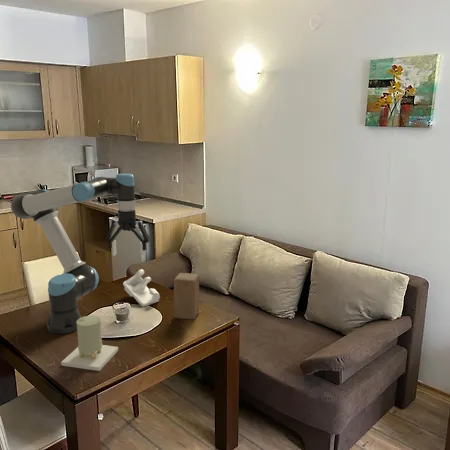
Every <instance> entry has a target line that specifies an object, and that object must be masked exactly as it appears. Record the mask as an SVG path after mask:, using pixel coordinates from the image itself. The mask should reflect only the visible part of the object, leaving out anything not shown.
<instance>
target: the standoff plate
mask: <svg viewBox="0 0 450 450" xmlns="http://www.w3.org/2000/svg"><path fill="white" fill-rule="evenodd" d="M118 351H119V346H113V345H105V344H102V348H101V349H100V350H98V351H96V352H93V353H83V352H80V351H79V350H78V346H77V347H76V348H75V349H74V350H73V351H72V352H71V353H69V354H68V355H67V356H66V357H65V358H64V359H63V360H61V363H60V364H61V366H63V367H68V368H69V367H70V368H76V369H82V370H88V371H89V370H91V371H96V372H99V371H102V369H103V368H104V366H106V364H108V362H109V361H110V360H111V359H112V358H113V357H114V356H115V354H117V353H118Z"/></svg>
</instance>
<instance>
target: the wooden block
mask: <svg viewBox="0 0 450 450" xmlns="http://www.w3.org/2000/svg"><path fill="white" fill-rule="evenodd" d="M173 296H174V297H173V303H174V305H173V308H174V312H173V313H174V318H175V319H181V320H195V319H196V317H197V315H198V313H199V312H200V275H199V274H198V273H188V272H179V273H178V274H177V275H176V276H175V278H174V279H173Z"/></svg>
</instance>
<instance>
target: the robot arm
mask: <svg viewBox="0 0 450 450" xmlns="http://www.w3.org/2000/svg"><path fill="white" fill-rule="evenodd" d="M135 185H136V184H135V177H134V174H133V173H132V174H131V173H127V172H126V173H125V172H124V173H118V174H116V177H108V176H107V177H106V176H105V177H104V176H96V177H94V178H93V179H92V180H87V181H81V182H78V183H75V184H71V185H66V186H64V187H60V188H56V189H52V190H49V189H38V190H37V189H36V190H34V191H29V192H24V193H20V194H17V195H16V196H14V198H13V199H12V200H11V202H10V209H11V210H10V211H11V212H12V214H13V215H15V216H16V217H17V218H18V219H21V220H27V219H28V220H29V219H32V220H33V221H34V224H37V225H40V227H41V230H42V231H43V232H44V234H45V237H46V238H47V240H48V242H49V244H50V245H51V247H52V250H53V251H54V254H55V255H56V257H57V258H58V260H59V262H60V264H61V266H62V268H63V273H61V274H57V275H54V276H53V277H51V278H50V279H49V281H48V283H47V284H48V285H47V286H48V288H47V292H48V301H49V311H50V313H49V317H48V321H47V324H46V325H47V326H46V327H47V331H48V332H50V333H52V334H55V335H59V334H60V335H62V334H63V335H65V334H70V333H73V332H76V331H77V323H76V322H77V320H78V319H80V318H82V316H81V314H80V311H79V309H78V300H79V299H81V298H82V297H84V296H85V295H88V294H90V293H92V291H94V290H95V289H96V288H97V287H98V285H99V281H100V280H99V279H100V278H99V274H98V272H97V270H96V268H94V267H92V266H89V265H88V264H87V262H86V261H83V260H81V258H80V255H79V254H78V252H77V250H76V248H75V247H74V245H73V243H72V240H71V239H70V237H69V236H68V234H67V232H66V229H65V228H64V226H63V224H62V223H61V221H60V219H59V210H58V208H60V207H64V206H67V205H72V204H76V203H81V202H86V201H90V200H93V199H95V198H99V197H103V196H116V200H117V218H118V219H116V218H113V219H112V220H111V223H110V224H111V225H110V227H109V229H108V232H107V234H106V236H105V240H107V241H109V246H110V247H109V248H110V249H111V251H112V255H111V256H113V257H115V256H116V255H117V254H118V251H117V240H115V239H116V238H117V237H118V236H119V234H120V233H121V232H122V231H124V232H125V231H127V232H130V231H131V232H132V233H133V234H134V235H135V236H136V238H137V239H138V240H139V241H140V242H141V243H140V259H144V258H145V257H146V253H145V251H147V244H148V243H149V242H150V241H151V237H150V235H149V234H148V232H147V230H146V228H145V226H144V221H143V220H138V221H137V220H136V219H137V216H136V215H137V213H136V197H135V196H136V195H135V194H136V193H135V192H136V191H135V187H136V186H135ZM117 225H119V227H118V228H117V229H116V231H115V228H116V226H117ZM136 225H137V226H138V227H137V226H136Z"/></svg>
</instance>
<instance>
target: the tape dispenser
mask: <svg viewBox="0 0 450 450" xmlns="http://www.w3.org/2000/svg"><path fill="white" fill-rule="evenodd" d="M144 274H145V270H144V269H142V268H141V269H138V271H136V273H135V274H134V275H133V276H131V277H129V278H128V279H127V280H124V281H123V283H122V285H123V287H124V291H125V292H126V293H127V294H128V295H129V296H130V298H131V297H133V298H134V299H135V300H136V302H137V303H138V304H139V305H140V306H141V307H144V306H145V307H147V306H149V305H153V304H156V303H157V302H159V301H160V298H161V296H160V295H161V294H160V293H159V292H158V291H157V289H155V288H149V287H148V286H147V285H148V283H150V282H151V281H152V278H151V277H150V276H145V277H144V278H142V276H143V275H144ZM145 307H144V308H145Z"/></svg>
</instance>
